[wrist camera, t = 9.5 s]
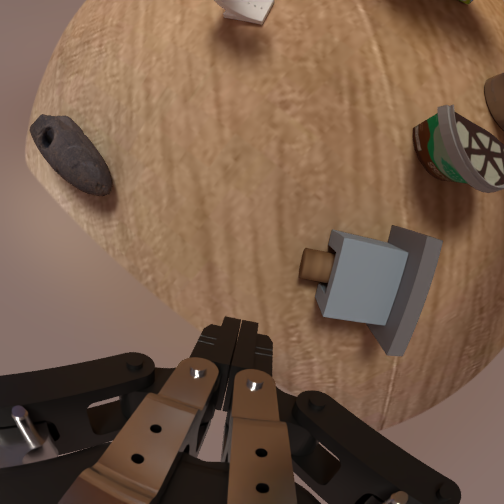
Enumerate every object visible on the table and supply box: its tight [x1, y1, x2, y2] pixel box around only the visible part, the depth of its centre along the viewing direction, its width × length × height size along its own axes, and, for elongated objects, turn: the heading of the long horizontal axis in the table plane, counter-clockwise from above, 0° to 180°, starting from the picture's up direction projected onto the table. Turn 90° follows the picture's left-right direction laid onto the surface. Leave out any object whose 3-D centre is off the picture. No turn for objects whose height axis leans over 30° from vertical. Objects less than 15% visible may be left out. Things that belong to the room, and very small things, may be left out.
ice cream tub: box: [413, 105, 504, 193], centre depth 21 cm, size 12×6×10 cm, turn 78°
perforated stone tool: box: [30, 114, 112, 196], centre depth 26 cm, size 15×5×7 cm, turn 43°
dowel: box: [299, 248, 336, 283], centre depth 28 cm, size 8×3×3 cm, turn 80°
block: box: [315, 230, 408, 325], centre depth 27 cm, size 7×8×5 cm
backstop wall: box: [366, 225, 443, 356], centre depth 26 cm, size 2×12×8 cm, turn 169°
